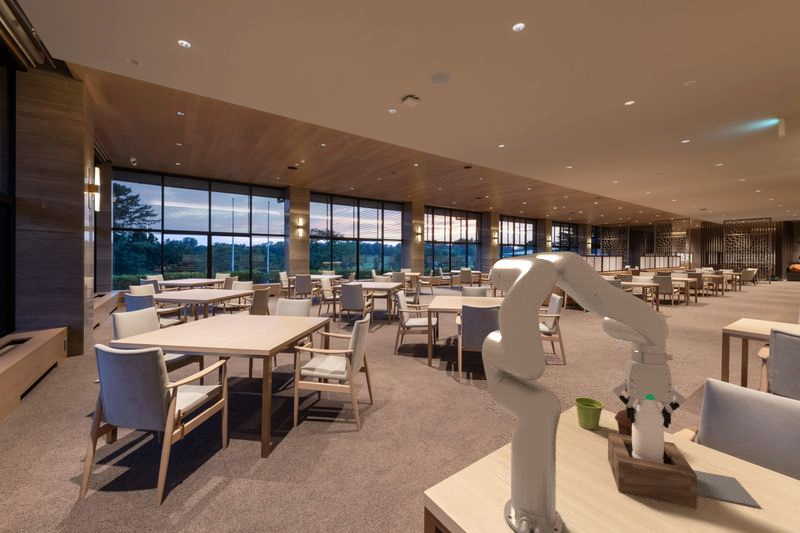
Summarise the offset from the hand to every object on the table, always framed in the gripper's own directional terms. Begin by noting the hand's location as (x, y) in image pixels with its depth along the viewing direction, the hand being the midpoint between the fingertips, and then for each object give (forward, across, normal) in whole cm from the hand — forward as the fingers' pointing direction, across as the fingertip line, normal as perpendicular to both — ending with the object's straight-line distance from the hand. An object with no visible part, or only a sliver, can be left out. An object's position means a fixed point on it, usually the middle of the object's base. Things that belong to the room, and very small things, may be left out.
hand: (647, 422), depth 92 cm
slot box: (+16, 0, 0) cm, 16 cm away
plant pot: (+16, +11, -29) cm, 35 cm away
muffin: (+16, -2, -23) cm, 28 cm away
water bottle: (+16, 0, 0) cm, 16 cm away
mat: (+16, -16, -4) cm, 23 cm away
